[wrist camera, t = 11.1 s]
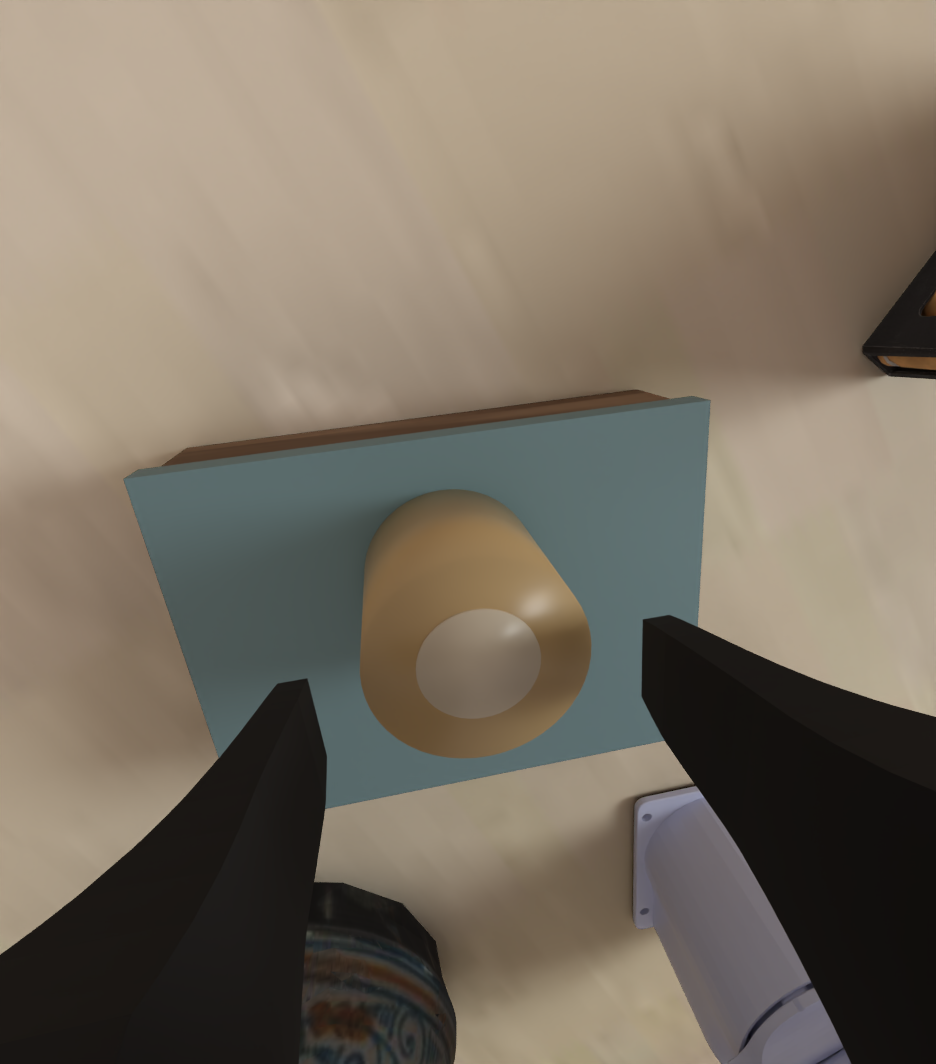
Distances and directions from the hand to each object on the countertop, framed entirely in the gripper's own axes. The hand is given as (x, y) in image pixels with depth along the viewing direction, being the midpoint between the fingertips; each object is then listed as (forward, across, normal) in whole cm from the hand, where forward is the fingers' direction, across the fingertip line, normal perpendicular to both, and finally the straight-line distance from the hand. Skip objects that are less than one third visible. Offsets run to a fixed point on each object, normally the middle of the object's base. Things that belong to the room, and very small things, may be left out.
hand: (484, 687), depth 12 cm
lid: (+7, 0, +2) cm, 7 cm away
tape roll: (+6, 0, 0) cm, 6 cm away
